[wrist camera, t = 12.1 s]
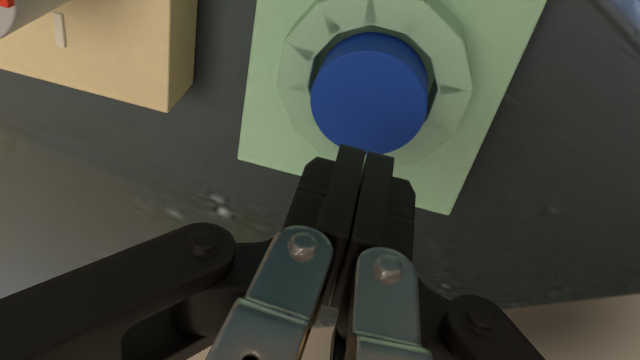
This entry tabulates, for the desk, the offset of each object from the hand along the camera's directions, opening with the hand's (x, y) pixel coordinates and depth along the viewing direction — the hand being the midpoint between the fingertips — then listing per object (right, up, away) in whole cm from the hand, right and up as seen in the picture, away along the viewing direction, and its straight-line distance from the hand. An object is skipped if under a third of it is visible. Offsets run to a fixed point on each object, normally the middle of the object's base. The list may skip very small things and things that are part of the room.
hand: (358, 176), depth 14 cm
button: (+1, +3, +5) cm, 6 cm away
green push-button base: (+2, +5, +8) cm, 10 cm away
